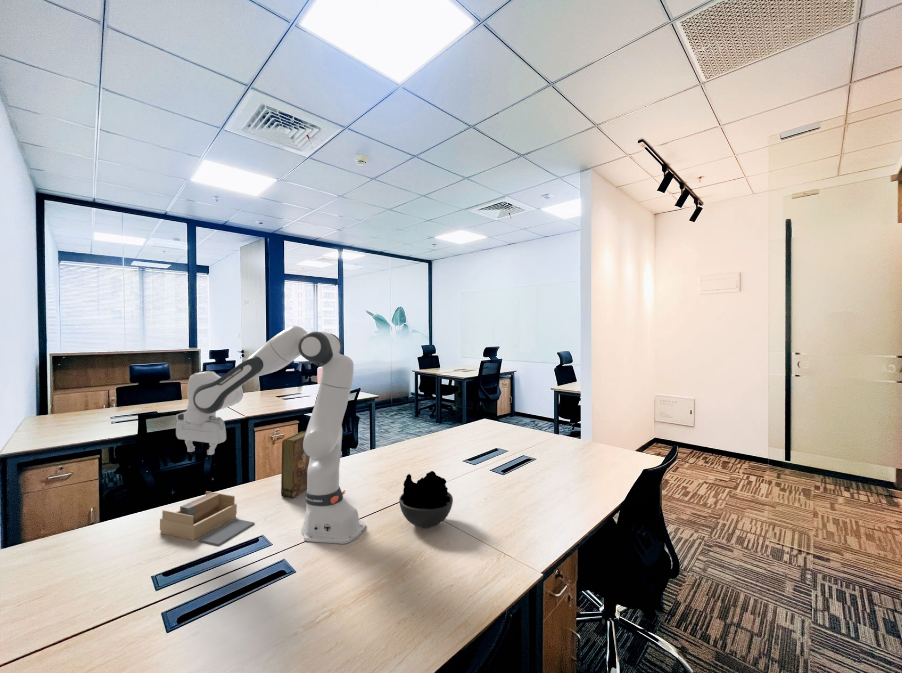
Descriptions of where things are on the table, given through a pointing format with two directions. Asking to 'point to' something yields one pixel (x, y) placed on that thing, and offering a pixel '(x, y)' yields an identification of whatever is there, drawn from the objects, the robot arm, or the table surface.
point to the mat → (226, 532)
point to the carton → (184, 525)
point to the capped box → (202, 507)
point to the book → (294, 466)
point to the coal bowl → (425, 500)
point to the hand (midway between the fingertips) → (200, 452)
